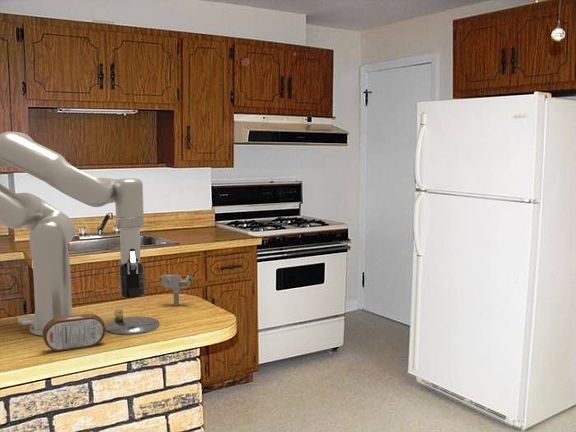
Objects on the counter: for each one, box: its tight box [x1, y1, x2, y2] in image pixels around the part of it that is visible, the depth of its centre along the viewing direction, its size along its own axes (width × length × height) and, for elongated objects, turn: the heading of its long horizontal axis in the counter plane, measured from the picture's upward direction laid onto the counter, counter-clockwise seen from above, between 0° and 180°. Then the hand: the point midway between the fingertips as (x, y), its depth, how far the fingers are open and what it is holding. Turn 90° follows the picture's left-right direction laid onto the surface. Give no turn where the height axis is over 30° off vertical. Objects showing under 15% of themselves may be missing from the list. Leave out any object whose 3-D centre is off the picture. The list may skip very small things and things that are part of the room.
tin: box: [42, 313, 106, 352], centre depth 147 cm, size 15×3×8 cm, turn 118°
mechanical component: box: [158, 273, 193, 307], centre depth 187 cm, size 3×10×10 cm, turn 89°
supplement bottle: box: [118, 259, 146, 299], centre depth 164 cm, size 7×7×12 cm
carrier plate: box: [104, 308, 160, 336], centre depth 166 cm, size 15×15×4 cm
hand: (132, 284), depth 164 cm, fingers closed on supplement bottle, 6 cm apart
